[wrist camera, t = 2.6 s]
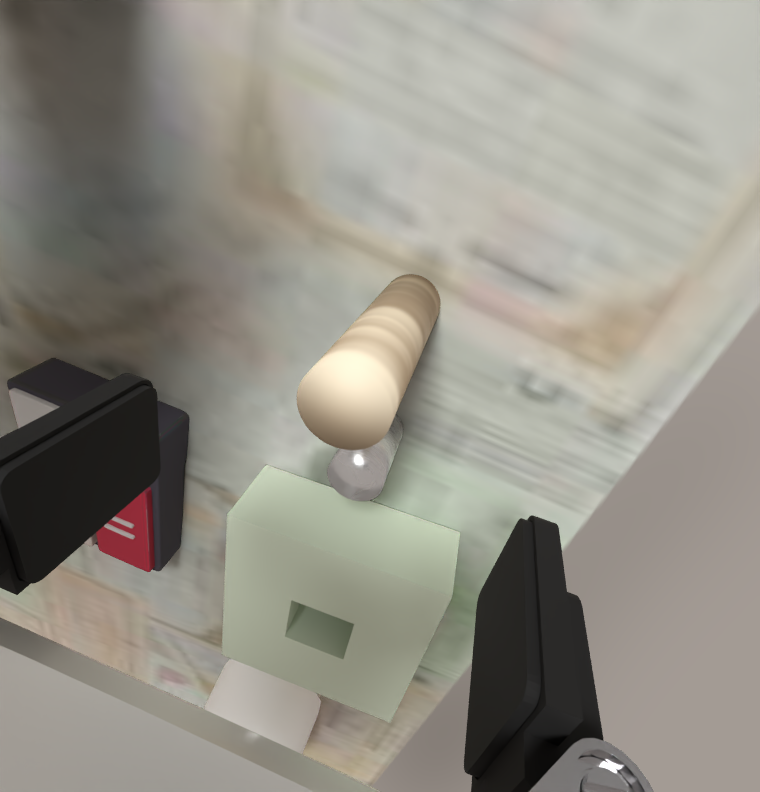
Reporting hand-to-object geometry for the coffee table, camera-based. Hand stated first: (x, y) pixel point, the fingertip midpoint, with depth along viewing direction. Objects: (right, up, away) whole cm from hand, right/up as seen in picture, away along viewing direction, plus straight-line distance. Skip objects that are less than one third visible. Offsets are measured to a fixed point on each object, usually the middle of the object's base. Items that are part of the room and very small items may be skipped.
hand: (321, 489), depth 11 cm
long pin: (+3, +7, +12) cm, 14 cm away
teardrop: (-10, -28, +35) cm, 46 cm away
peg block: (-2, -11, +23) cm, 26 cm away
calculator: (-19, -3, +24) cm, 31 cm away
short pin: (+1, 0, +16) cm, 16 cm away
